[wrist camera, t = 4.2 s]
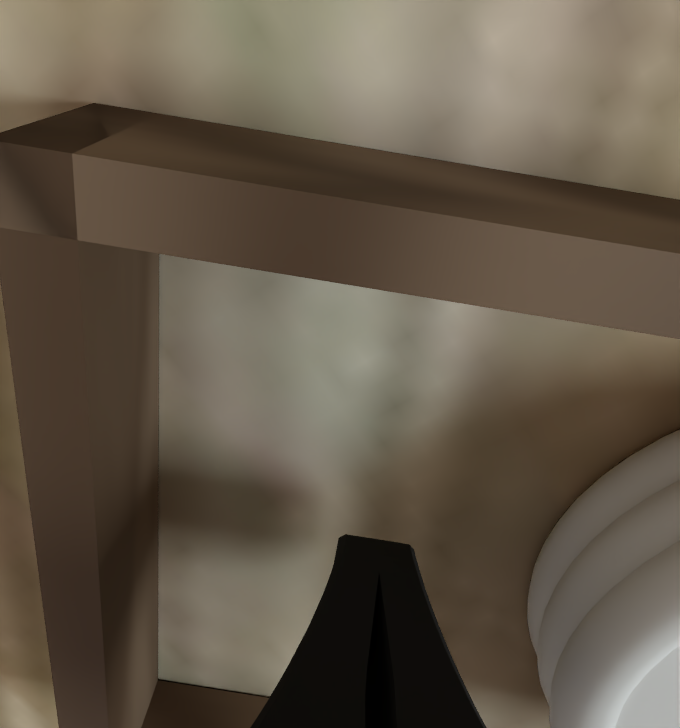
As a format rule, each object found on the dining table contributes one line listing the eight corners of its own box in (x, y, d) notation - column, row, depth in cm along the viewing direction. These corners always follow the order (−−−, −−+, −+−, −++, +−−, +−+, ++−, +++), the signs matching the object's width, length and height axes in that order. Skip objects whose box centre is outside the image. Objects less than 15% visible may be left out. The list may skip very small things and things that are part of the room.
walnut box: (120, 697, 17) (71, 822, 14) (94, 102, 10) (-18, 138, 7) (853, 813, 17) (936, 958, 15) (1384, 316, 10) (1747, 429, 7)
